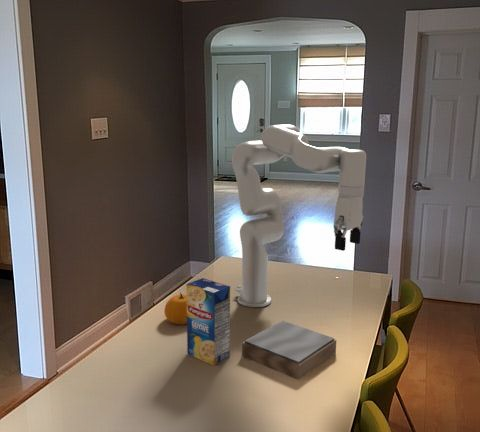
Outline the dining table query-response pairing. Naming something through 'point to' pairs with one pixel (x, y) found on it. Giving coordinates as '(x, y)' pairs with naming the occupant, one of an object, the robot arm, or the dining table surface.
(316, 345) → the podium
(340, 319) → the dining table surface
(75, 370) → the dining table surface
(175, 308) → the fruit
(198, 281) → the beverage box
